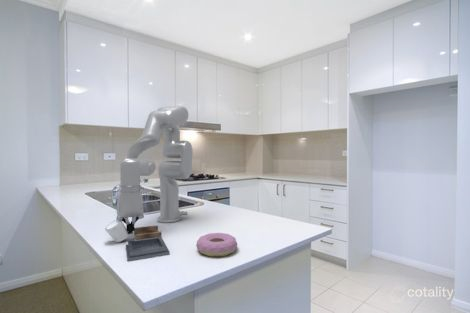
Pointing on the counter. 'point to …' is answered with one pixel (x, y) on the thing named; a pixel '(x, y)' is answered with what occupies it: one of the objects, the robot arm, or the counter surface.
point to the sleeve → (147, 232)
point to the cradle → (146, 248)
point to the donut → (216, 244)
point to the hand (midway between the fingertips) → (130, 233)
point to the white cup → (117, 230)
